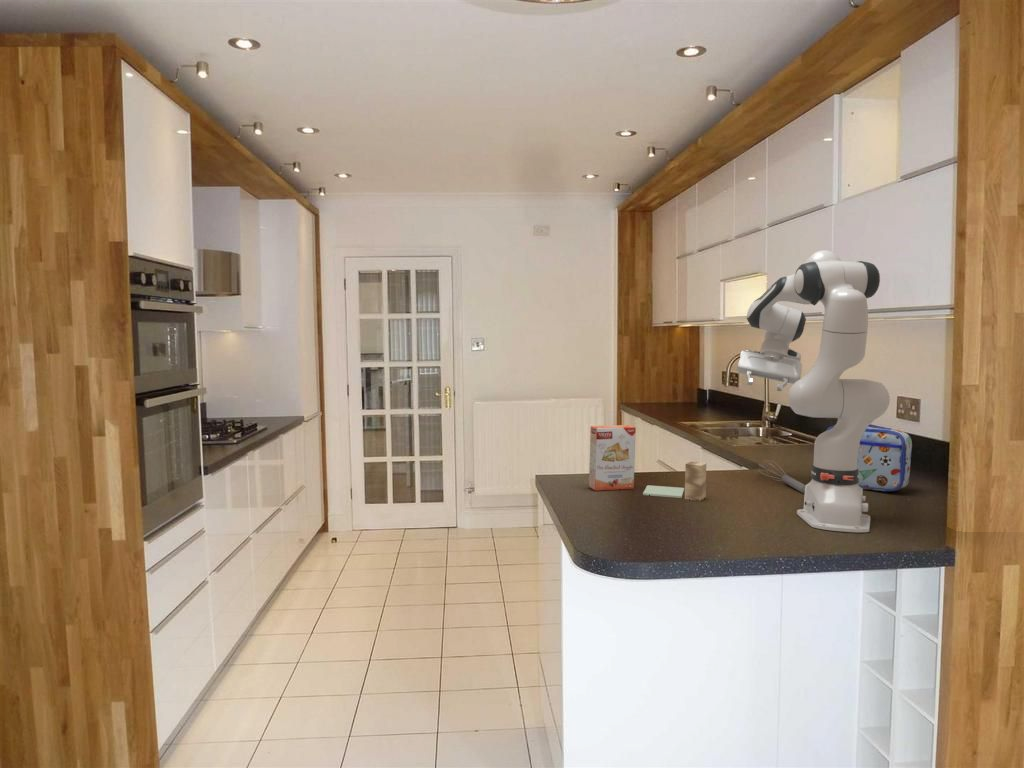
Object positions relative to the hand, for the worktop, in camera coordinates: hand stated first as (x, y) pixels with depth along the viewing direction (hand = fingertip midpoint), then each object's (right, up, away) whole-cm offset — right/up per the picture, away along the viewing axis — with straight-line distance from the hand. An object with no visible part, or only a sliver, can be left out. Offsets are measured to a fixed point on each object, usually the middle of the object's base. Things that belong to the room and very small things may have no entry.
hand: (764, 387), depth 225 cm
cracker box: (-50, -34, +1) cm, 61 cm away
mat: (-34, -34, -5) cm, 48 cm away
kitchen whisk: (+11, -34, +9) cm, 37 cm away
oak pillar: (-26, -35, -12) cm, 45 cm away
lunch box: (+35, -34, +5) cm, 49 cm away
